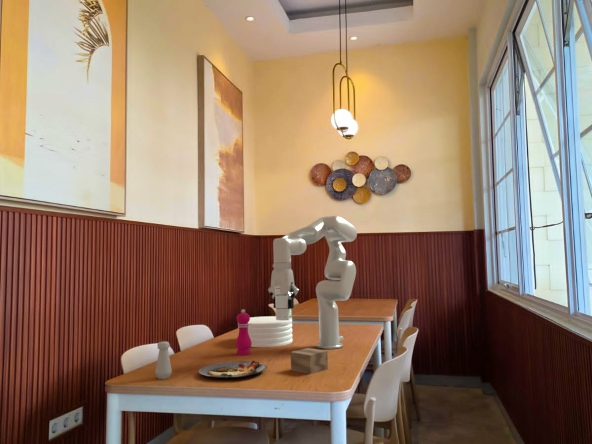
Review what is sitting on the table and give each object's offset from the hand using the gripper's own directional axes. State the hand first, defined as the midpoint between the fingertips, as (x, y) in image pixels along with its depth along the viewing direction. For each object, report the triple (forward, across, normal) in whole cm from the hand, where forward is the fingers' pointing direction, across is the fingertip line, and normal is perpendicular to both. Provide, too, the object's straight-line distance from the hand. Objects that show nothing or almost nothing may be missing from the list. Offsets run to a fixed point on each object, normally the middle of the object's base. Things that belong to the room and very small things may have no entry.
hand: (283, 307), depth 198 cm
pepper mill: (+22, -23, -1) cm, 32 cm away
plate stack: (+22, -35, +27) cm, 49 cm away
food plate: (+22, -1, -29) cm, 37 cm away
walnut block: (+22, +20, -9) cm, 31 cm away
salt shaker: (+22, -18, -48) cm, 56 cm away
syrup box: (+5, 0, 0) cm, 5 cm away
